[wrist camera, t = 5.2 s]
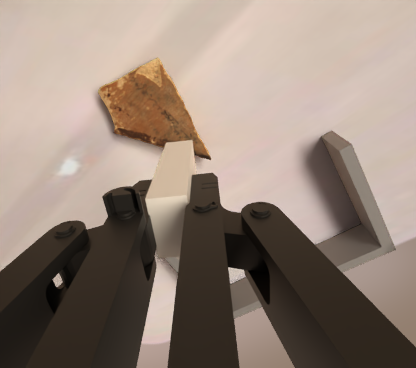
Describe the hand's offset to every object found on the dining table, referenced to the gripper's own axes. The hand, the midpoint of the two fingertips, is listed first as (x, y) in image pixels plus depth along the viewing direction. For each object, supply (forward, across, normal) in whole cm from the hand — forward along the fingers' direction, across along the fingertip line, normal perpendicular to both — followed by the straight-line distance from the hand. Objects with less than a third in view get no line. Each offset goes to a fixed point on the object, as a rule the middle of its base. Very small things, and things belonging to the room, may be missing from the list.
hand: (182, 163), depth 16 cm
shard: (+15, +1, 0) cm, 15 cm away
